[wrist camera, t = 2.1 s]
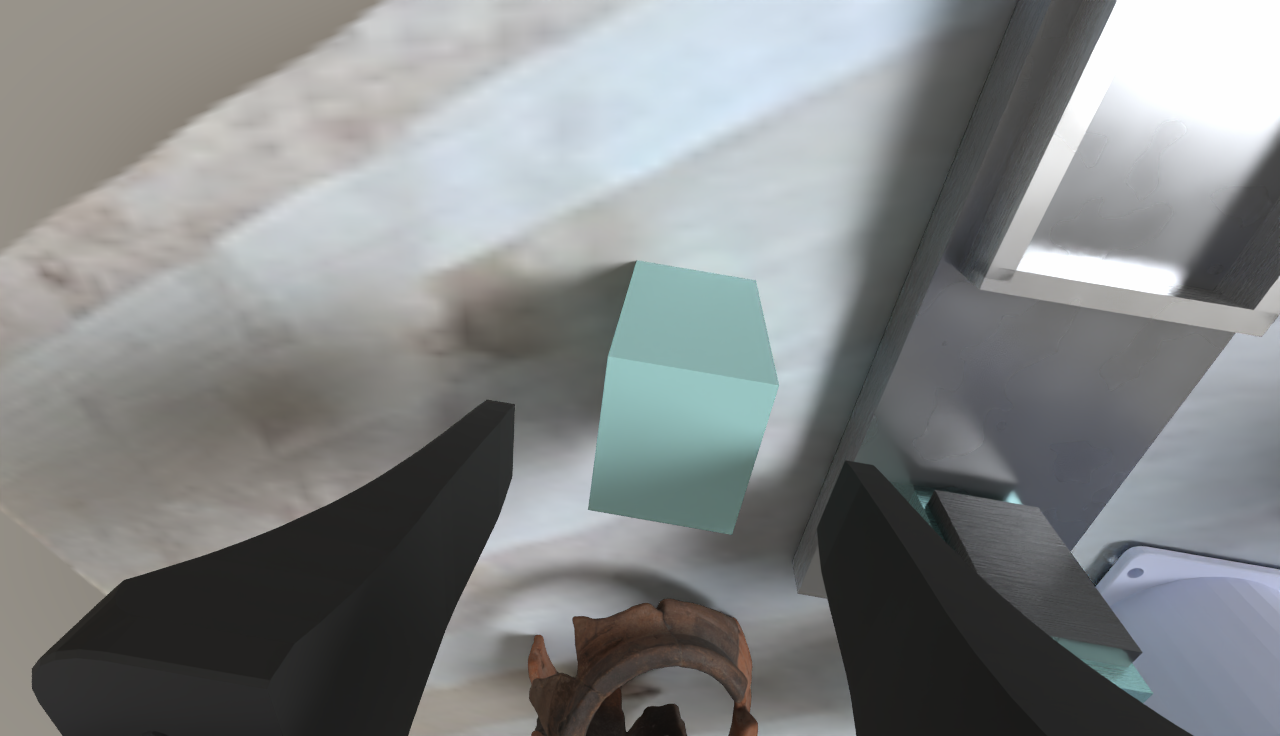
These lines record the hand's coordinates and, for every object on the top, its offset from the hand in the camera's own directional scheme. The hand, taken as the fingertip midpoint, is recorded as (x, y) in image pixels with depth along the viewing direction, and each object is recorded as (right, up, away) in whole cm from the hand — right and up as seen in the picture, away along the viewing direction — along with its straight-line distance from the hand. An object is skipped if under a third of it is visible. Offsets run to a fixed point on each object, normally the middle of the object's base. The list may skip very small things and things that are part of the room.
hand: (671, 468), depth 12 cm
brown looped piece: (0, -11, +14) cm, 18 cm away
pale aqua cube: (+1, +3, +6) cm, 7 cm away
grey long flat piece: (+11, +3, +5) cm, 12 cm away
